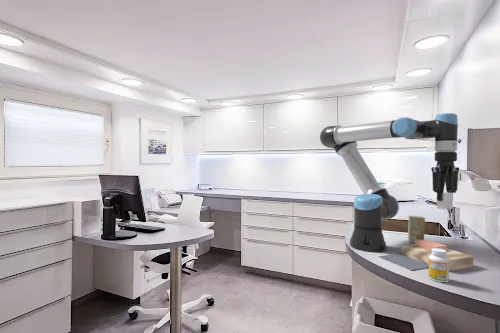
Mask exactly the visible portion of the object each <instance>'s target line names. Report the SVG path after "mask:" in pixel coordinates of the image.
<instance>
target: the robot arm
mask: <svg viewBox="0 0 500 333" xmlns="http://www.w3.org/2000/svg"><path fill="white" fill-rule="evenodd" d="M458 128H459V124H458V115H457V114H456V113H451V112H449V113H439V114H436V115H435V118H434V119H432V120H424V121H423V120H422V121H420V120H417V119H413V118H410V117H399V118H397V119H394V120H386V121H379V122H371V123H362V124H356V125H355V124H354V125H347V126H342V125H339V124H338V125H329V126H328V125H327V126H326V127H323V129H322V130H321V131H320V133H319V140H320V143H321V145H323V146H324V147H326V148H329V149H333V150H334V151H335V153H336V155H337V156H339V157H341V158H342V159H343V160H344V162H345V164H346V166H347V168H348V170H349V172H350V173H351V175H352V176H353V179H354V180H355V182H356V183H357V185H358V187H359V189H360V190H361V192H362V193H363V194H359V195H357V196H355V198H354V203H353V212H354V216H353V218H354V219H353V220H354V221H353V226H354V227H353V231H352V232H351V233H352V234H351V237H350V238H349V245H350V247H351V248H354V249H355V250H360V251H364V252H383V251H385V250H386V249H387V243H386V241H385V237H384V233H383V230H382V229H383V221H388V220H389V221H390V219H393V218H394V217H396V216H397V215H398V213H399V209H400V204H399V202H398V200H397V199H396V197H394V196H393V195H390V194H389V192H388V191H387V189H386V187H382V186H380V183H379V182H378V180H377V179H376V178H375V176H374V174H373V173H372V171H371V169H370V168H369V166H368V164H367V163H366V162H365V160H364V158H363V157H362V155H361V154H360V152H359V150H358V143H357V142H362V141H363V142H364V141H372V140H373V141H374V140H383V139H398V138H404V139H405V140H414V141H415V140H423V139H434V151H435V152H434V161H435V162H436V164H435V166H432V167H431V168H430V169H431V170H430V171H431V173H432V175H431V176H432V191H433V192H434V193H436V209H438V210H439V209H440V210H445V209H450V210H453V209H454V208H453V206H454V205H453V201H454V193H455V194H456V193H457V191H458V186H459V185H458V184H459V182H458V181H459V172H460V167H457V166H456V165H455V162H457V161H458V152H457V151H458V130H459V129H458ZM445 190H446V191H445Z"/></svg>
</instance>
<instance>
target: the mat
mask: <svg viewBox="0 0 500 333" xmlns="http://www.w3.org/2000/svg"><path fill="white" fill-rule="evenodd" d="M378 257H379V258H381V259H383V260H385V261H388V262H390V263H391V264H395V265H397V264H398V266H400V267H402V268H404V267H405V269H407V270H409V269H410V271H412V270H414V271H417V270H419V271H420V270H423V269H424V270H425V269H429V265H428V264H426V263H423V262H420V261H417V260H415V259H412V258H409V257H406V256H404V255H402V254H400V253H393V254H386V255H380V256H378Z"/></svg>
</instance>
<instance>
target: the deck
mask: <svg viewBox="0 0 500 333" xmlns="http://www.w3.org/2000/svg"><path fill="white" fill-rule="evenodd" d="M401 250H402V254H401V255H404V256H406V257H409V258H412V259H415V260H417V261H420V262H423V263H426V264H428V265H429V256H430V255H432V251H431V250H427V249H424V248H421V247H418V246H415V243H414V244H413V243H412V244H405V245H402V249H401ZM446 252H447V255H446V257H447V258H448V259H449V272H452V270H453V271H458V270H463V269H469V268H473V267H474V255H471V254H468V253H465V252H460V251H457V250H453V249H451V248H447V251H446Z"/></svg>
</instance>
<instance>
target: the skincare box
mask: <svg viewBox="0 0 500 333" xmlns="http://www.w3.org/2000/svg"><path fill="white" fill-rule="evenodd" d="M425 221H426V218H425V217H423V216H419V215H408V225H407V226H408V228H407V229H408V230H407V240H408V241H409V242H410V243H415V241H417V240H425V225H426V222H425Z"/></svg>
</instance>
